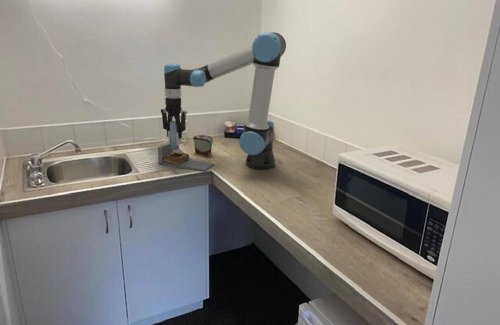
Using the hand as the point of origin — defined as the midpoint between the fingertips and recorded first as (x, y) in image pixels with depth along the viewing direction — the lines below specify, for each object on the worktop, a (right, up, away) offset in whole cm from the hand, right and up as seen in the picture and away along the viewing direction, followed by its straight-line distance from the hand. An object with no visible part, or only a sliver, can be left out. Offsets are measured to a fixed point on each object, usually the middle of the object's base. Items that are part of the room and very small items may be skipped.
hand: (174, 143), depth 189 cm
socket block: (0, -9, +3) cm, 9 cm away
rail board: (+6, -11, +1) cm, 12 cm away
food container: (+13, -5, +18) cm, 23 cm away
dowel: (0, -2, +1) cm, 3 cm away
